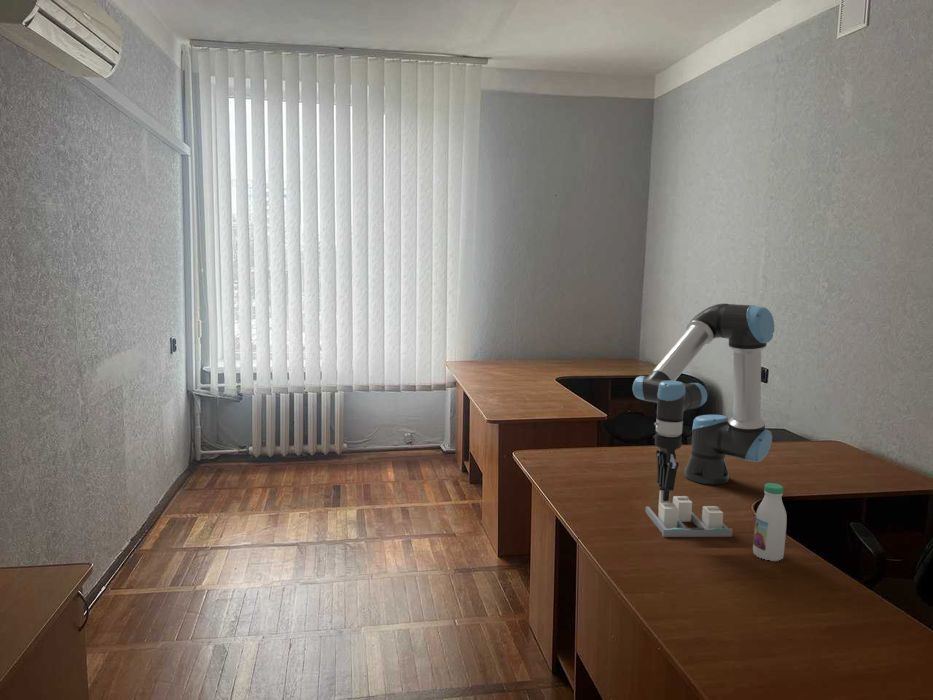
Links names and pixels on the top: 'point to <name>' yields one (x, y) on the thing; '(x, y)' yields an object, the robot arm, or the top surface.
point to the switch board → (689, 532)
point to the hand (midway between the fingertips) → (663, 509)
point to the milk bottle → (770, 525)
